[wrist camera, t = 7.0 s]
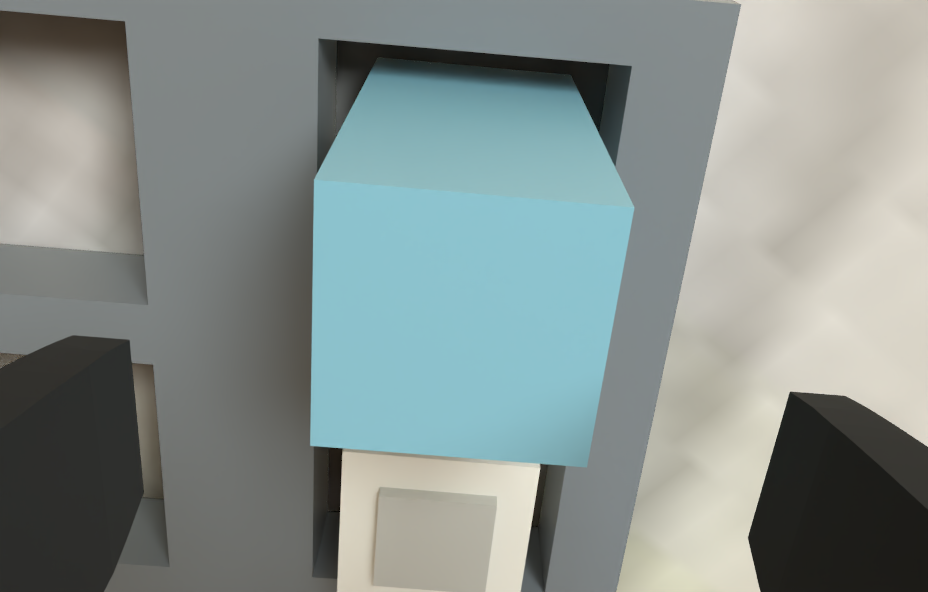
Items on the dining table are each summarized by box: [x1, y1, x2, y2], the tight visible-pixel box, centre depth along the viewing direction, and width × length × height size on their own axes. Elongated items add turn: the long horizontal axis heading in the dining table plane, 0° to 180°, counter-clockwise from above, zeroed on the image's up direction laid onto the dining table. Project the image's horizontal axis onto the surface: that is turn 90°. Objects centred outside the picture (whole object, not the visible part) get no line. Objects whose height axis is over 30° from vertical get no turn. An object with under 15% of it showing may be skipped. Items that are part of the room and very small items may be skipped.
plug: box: [310, 57, 634, 467], centre depth 15 cm, size 4×5×8 cm
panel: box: [0, 0, 741, 592], centre depth 19 cm, size 18×15×2 cm
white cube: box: [337, 448, 540, 592], centre depth 20 cm, size 4×4×4 cm
